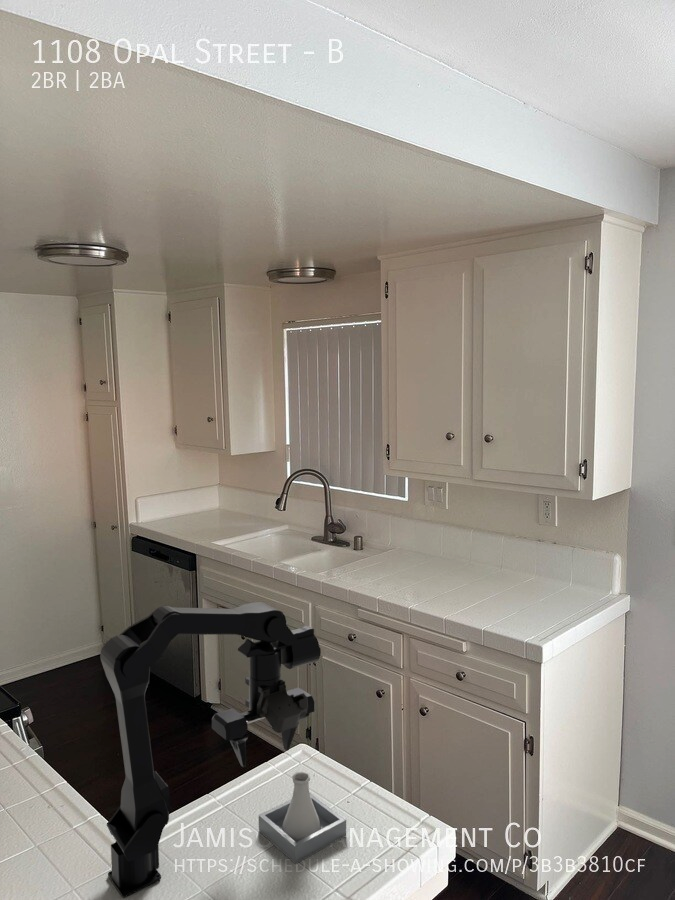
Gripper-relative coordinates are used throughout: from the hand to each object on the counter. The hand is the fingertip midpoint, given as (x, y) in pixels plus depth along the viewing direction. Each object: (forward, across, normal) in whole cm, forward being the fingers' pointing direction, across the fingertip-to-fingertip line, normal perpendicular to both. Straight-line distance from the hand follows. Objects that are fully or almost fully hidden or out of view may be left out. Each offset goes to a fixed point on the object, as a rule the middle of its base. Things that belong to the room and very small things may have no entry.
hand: (265, 757), depth 124 cm
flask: (+12, +3, -7) cm, 14 cm away
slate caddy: (+12, +4, -7) cm, 14 cm away
